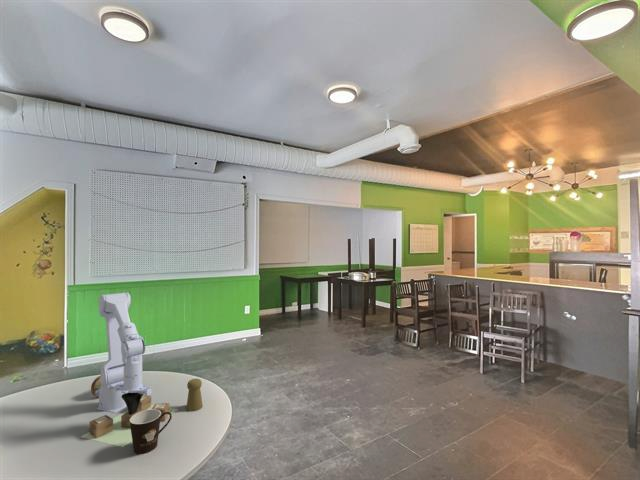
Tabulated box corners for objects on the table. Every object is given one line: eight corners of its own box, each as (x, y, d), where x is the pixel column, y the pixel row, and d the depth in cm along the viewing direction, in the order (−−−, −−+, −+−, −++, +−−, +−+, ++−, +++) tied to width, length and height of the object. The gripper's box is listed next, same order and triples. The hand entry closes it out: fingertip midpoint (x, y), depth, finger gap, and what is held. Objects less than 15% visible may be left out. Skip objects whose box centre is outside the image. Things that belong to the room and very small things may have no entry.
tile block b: (149, 422, 115) (149, 410, 115) (155, 414, 120) (155, 403, 120) (164, 421, 115) (164, 409, 116) (169, 413, 120) (169, 402, 120)
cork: (197, 413, 121) (197, 383, 122) (182, 411, 123) (182, 382, 123) (205, 405, 127) (205, 377, 128) (192, 403, 129) (192, 376, 129)
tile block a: (89, 433, 108) (89, 420, 108) (105, 426, 112) (105, 414, 112) (96, 438, 105) (96, 425, 105) (113, 430, 110) (113, 418, 110)
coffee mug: (127, 461, 95) (127, 426, 95) (131, 444, 103) (131, 412, 103) (171, 450, 100) (171, 418, 100) (171, 435, 108) (171, 405, 108)
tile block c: (130, 411, 122) (130, 400, 122) (140, 405, 127) (140, 394, 127) (141, 412, 121) (141, 401, 121) (151, 406, 126) (151, 395, 126)
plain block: (121, 427, 112) (121, 415, 112) (131, 419, 117) (131, 408, 117) (134, 428, 111) (134, 416, 111) (144, 420, 116) (144, 409, 116)
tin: (94, 400, 132) (94, 379, 132) (89, 399, 133) (89, 378, 133) (129, 385, 145) (129, 367, 145) (125, 384, 147) (125, 365, 147)
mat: (80, 438, 106) (80, 436, 106) (141, 403, 129) (141, 402, 129) (122, 448, 101) (122, 447, 101) (178, 410, 124) (178, 409, 124)
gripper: (106, 376, 112) (106, 415, 112) (139, 381, 108) (139, 422, 108) (124, 368, 119) (124, 405, 119) (156, 373, 115) (156, 411, 114)
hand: (133, 412), depth 114 cm, fingers closed, pressing on plain block
